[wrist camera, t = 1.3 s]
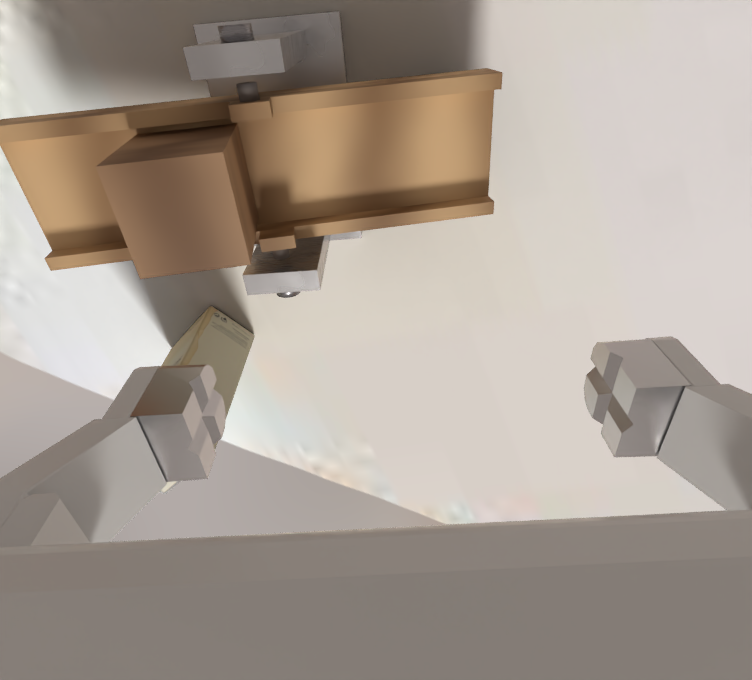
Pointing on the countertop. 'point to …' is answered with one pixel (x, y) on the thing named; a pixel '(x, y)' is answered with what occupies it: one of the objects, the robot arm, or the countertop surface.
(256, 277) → the pivot stand
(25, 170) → the beam
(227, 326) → the skincare box
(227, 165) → the block
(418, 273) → the countertop surface
